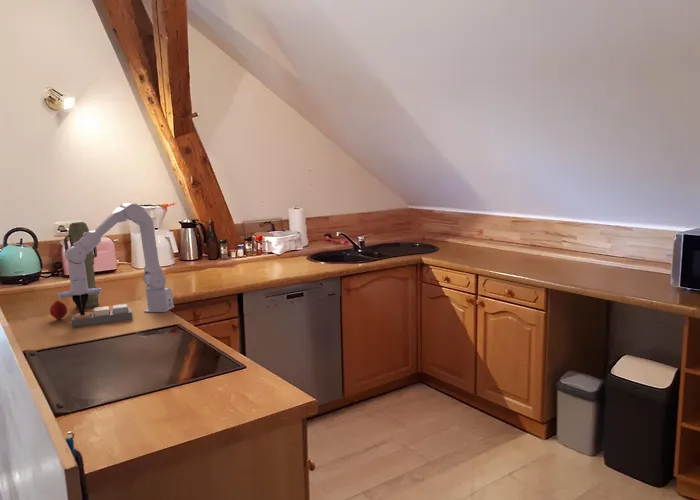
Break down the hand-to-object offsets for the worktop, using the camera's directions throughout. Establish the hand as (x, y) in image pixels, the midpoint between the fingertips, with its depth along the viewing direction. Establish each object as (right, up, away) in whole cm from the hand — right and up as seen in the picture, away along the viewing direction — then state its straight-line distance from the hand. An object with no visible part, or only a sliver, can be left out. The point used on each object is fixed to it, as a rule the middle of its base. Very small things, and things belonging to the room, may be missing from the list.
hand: (82, 314), depth 213 cm
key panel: (+6, -3, +3) cm, 8 cm away
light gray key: (+12, 0, +5) cm, 13 cm away
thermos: (-11, 0, +27) cm, 29 cm away
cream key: (+6, -1, +3) cm, 7 cm away
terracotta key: (0, -3, +1) cm, 3 cm away
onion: (-12, -3, +8) cm, 15 cm away
